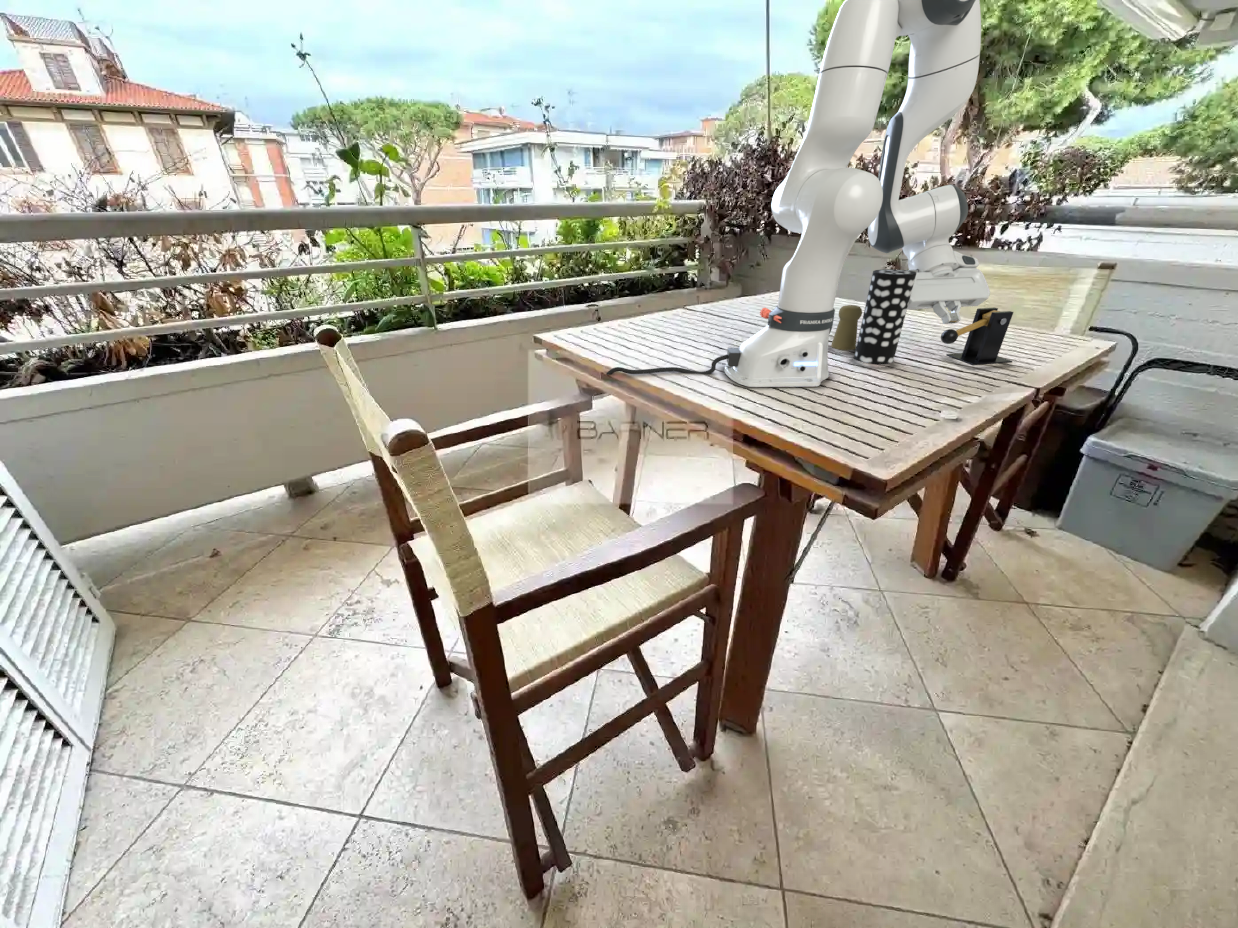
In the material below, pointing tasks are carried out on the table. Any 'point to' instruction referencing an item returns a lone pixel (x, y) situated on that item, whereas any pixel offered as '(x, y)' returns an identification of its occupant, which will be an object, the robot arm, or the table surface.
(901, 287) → the white-spotted black cylinder
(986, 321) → the latch lever
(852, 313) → the cork
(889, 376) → the table surface
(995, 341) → the bracket
